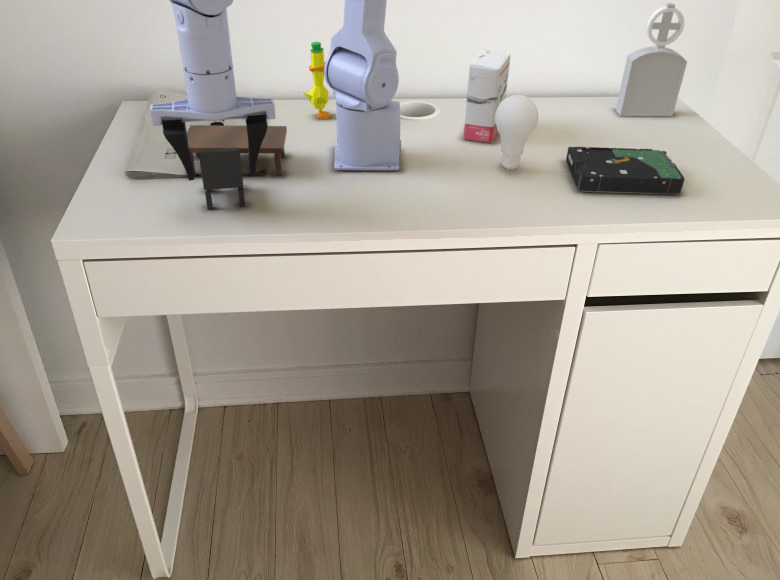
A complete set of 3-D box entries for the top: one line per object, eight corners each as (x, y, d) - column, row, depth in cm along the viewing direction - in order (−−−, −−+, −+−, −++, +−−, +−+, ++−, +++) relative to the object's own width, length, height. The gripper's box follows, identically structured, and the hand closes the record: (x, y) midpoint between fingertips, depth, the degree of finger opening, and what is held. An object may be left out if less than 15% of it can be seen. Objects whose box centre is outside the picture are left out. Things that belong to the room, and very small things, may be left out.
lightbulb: (506, 157, 111) (515, 85, 104) (538, 170, 107) (550, 97, 100) (480, 168, 107) (488, 95, 100) (512, 182, 104) (523, 107, 97)
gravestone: (615, 110, 128) (639, 1, 117) (666, 110, 128) (695, 2, 117) (620, 116, 126) (644, 5, 114) (672, 116, 126) (702, 6, 115)
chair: (243, 187, 100) (236, 131, 95) (245, 208, 95) (239, 151, 90) (206, 189, 99) (197, 134, 94) (207, 211, 94) (198, 153, 89)
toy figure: (342, 111, 123) (340, 38, 116) (346, 119, 120) (345, 44, 113) (302, 114, 122) (298, 40, 114) (306, 122, 119) (302, 47, 112)
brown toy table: (288, 154, 109) (286, 125, 106) (284, 177, 103) (282, 148, 100) (194, 153, 108) (190, 125, 105) (185, 177, 102) (180, 147, 99)
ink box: (491, 144, 114) (500, 68, 107) (461, 139, 115) (468, 64, 108) (503, 125, 121) (512, 52, 113) (474, 120, 122) (481, 48, 114)
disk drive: (577, 194, 102) (681, 196, 102) (581, 176, 100) (687, 177, 100) (564, 163, 110) (660, 164, 110) (567, 145, 108) (665, 147, 108)
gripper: (268, 53, 88) (276, 157, 97) (144, 58, 85) (164, 165, 94) (273, 72, 83) (281, 181, 91) (141, 78, 80) (162, 189, 89)
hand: (222, 174), depth 92 cm, fingers open, 7 cm apart
